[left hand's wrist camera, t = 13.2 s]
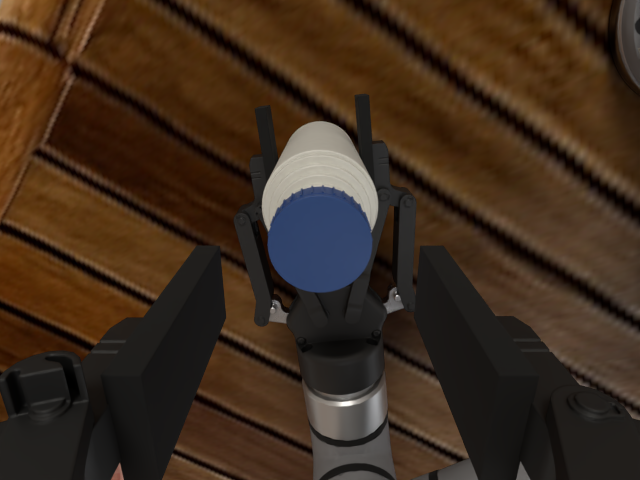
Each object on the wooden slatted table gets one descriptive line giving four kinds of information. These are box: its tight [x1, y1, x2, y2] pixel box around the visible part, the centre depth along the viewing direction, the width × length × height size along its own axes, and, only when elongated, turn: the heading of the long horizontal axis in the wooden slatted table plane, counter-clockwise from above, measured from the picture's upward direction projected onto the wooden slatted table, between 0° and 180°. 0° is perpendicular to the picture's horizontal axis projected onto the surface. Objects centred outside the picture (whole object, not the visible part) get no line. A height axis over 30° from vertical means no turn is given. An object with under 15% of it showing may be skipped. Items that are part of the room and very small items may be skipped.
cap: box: [268, 185, 373, 293], centre depth 18 cm, size 4×4×2 cm
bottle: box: [262, 121, 378, 232], centre depth 28 cm, size 6×6×21 cm
